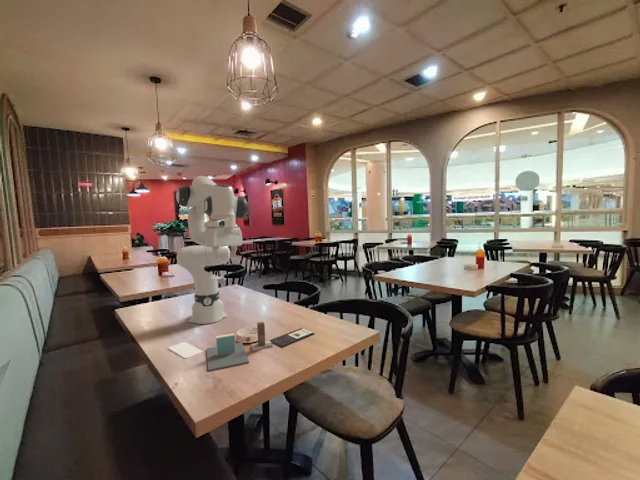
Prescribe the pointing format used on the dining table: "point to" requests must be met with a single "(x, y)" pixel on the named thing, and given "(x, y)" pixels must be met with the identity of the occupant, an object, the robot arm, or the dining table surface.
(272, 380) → the dining table surface
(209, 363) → the mat
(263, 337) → the stamp
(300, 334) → the chocolate bar
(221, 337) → the tile
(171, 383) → the dining table surface
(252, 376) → the dining table surface
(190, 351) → the white flat slab
